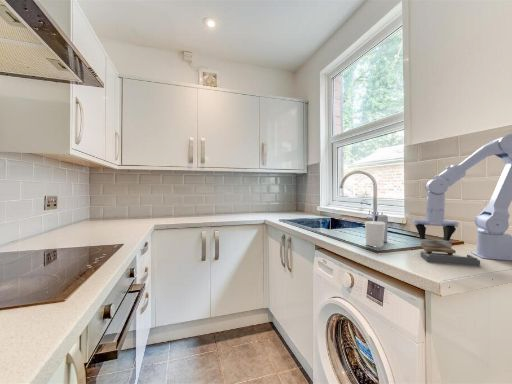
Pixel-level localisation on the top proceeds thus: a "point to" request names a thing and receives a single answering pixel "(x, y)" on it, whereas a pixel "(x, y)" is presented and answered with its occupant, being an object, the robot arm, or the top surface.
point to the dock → (450, 259)
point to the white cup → (375, 233)
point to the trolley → (437, 246)
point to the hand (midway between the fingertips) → (434, 243)
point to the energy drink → (384, 219)
